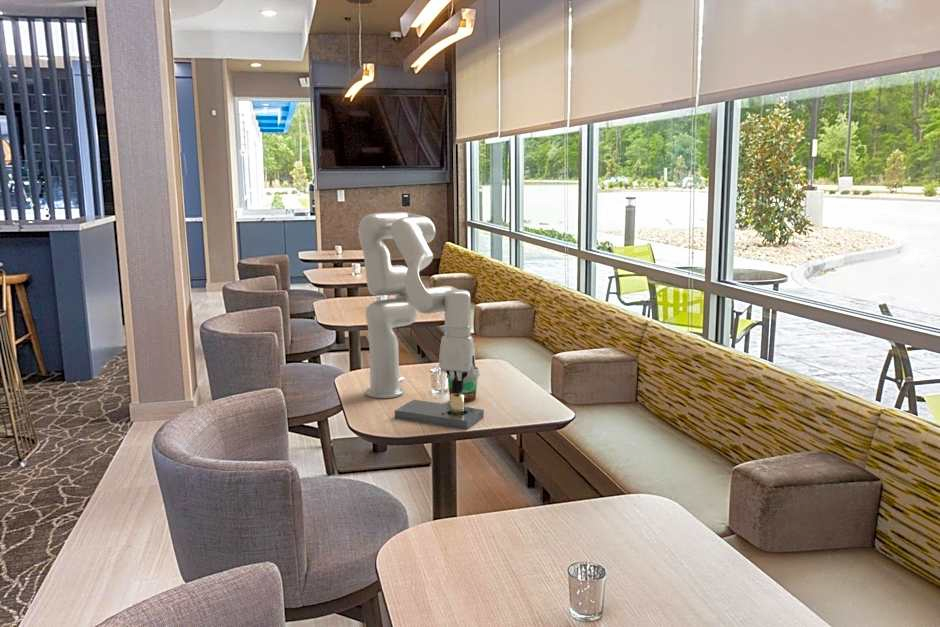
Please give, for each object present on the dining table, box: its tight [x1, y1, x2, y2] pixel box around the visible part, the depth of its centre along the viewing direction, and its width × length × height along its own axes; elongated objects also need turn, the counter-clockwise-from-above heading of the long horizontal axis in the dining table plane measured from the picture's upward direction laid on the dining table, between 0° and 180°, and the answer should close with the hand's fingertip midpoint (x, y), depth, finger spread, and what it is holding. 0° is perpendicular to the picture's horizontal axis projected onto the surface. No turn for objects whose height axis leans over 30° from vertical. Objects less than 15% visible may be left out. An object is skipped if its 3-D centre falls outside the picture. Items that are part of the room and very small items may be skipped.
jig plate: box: [394, 399, 485, 430], centre depth 233 cm, size 12×24×2 cm, turn 65°
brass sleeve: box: [450, 393, 465, 416], centre depth 230 cm, size 4×4×8 cm
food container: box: [446, 365, 481, 403], centre depth 250 cm, size 12×6×10 cm, turn 131°
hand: (457, 392), depth 229 cm, fingers closed
